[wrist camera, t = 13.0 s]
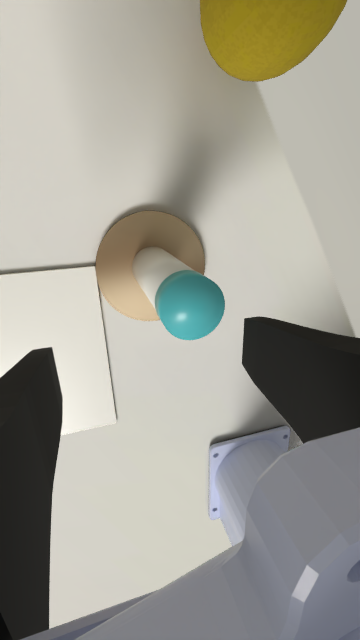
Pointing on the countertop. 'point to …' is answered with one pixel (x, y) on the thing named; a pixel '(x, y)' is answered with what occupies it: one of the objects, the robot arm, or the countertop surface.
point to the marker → (178, 293)
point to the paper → (61, 338)
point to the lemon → (265, 33)
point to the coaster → (124, 247)
